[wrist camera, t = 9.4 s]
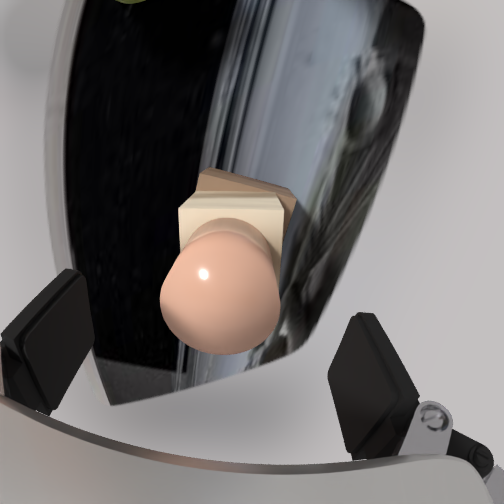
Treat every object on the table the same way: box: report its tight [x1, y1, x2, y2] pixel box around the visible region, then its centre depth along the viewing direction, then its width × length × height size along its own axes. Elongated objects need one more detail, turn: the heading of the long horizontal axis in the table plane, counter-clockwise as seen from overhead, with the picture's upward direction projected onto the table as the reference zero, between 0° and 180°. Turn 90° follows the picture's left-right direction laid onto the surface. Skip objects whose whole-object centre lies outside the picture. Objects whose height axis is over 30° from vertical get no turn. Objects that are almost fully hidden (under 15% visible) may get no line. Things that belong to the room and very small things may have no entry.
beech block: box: [179, 191, 284, 292], centre depth 19 cm, size 6×6×6 cm
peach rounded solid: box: [160, 218, 280, 355], centre depth 14 cm, size 5×5×5 cm
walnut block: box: [196, 167, 297, 243], centre depth 24 cm, size 7×7×5 cm
